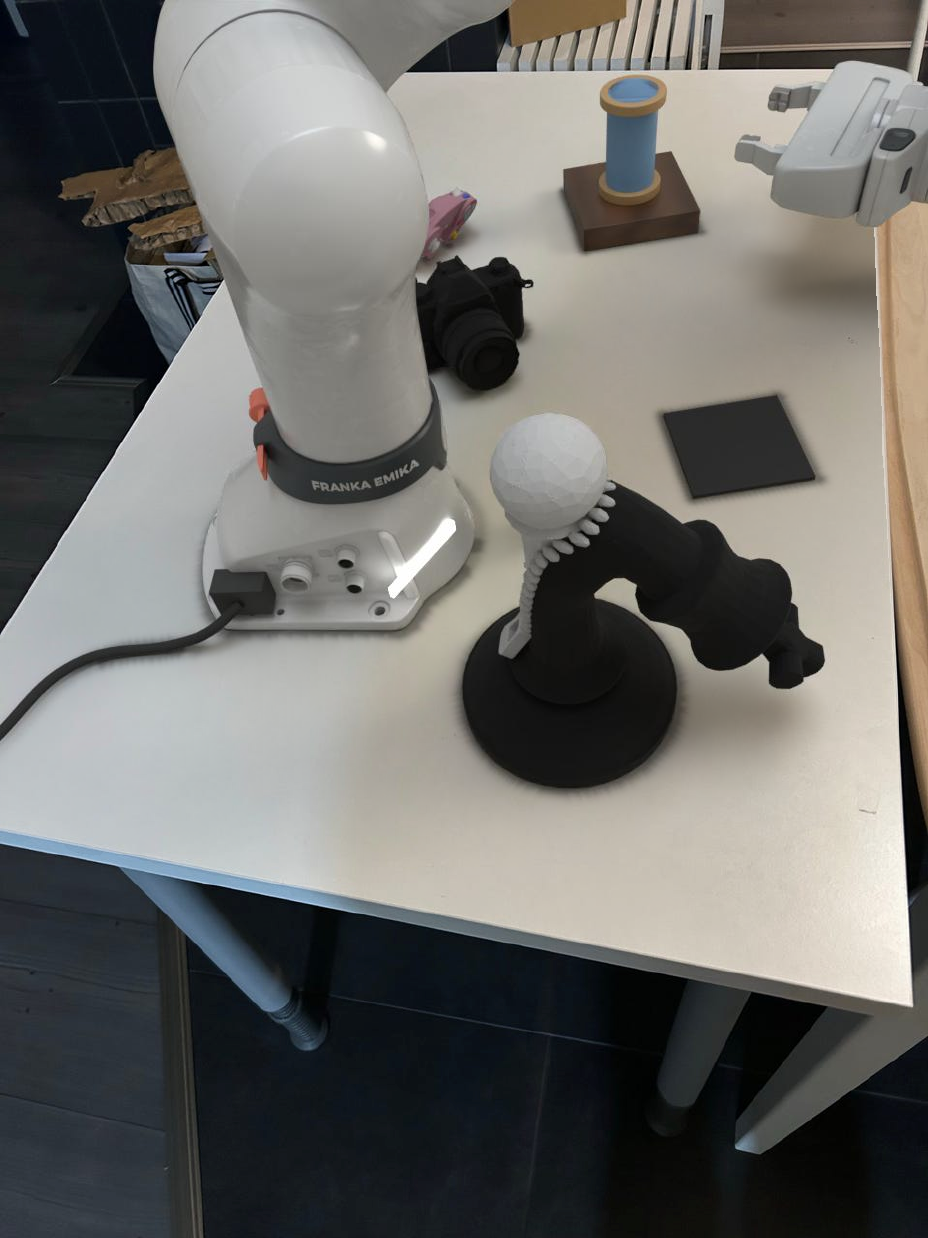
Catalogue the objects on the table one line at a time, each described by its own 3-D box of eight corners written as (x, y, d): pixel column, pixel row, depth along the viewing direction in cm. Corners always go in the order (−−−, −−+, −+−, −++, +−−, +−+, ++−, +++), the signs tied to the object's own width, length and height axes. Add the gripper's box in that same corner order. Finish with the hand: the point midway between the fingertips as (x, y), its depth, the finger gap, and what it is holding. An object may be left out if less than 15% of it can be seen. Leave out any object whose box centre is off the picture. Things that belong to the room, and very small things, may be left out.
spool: (605, 209, 95) (607, 111, 87) (593, 177, 99) (594, 80, 91) (666, 199, 95) (674, 100, 87) (652, 167, 99) (658, 69, 91)
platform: (583, 251, 96) (583, 229, 94) (563, 190, 103) (563, 168, 101) (698, 232, 96) (700, 209, 94) (669, 172, 103) (671, 150, 101)
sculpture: (478, 599, 71) (436, 331, 51) (796, 614, 67) (888, 332, 47) (449, 778, 63) (384, 543, 42) (812, 809, 59) (932, 565, 38)
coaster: (692, 499, 75) (693, 495, 74) (663, 416, 81) (663, 412, 80) (815, 479, 75) (815, 476, 74) (776, 398, 80) (777, 394, 80)
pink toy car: (416, 286, 98) (431, 241, 92) (384, 258, 98) (396, 211, 92) (471, 238, 102) (489, 192, 96) (440, 211, 102) (456, 163, 96)
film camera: (411, 422, 84) (394, 341, 76) (377, 361, 89) (358, 280, 82) (562, 368, 86) (560, 284, 78) (519, 312, 91) (514, 228, 84)
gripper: (947, 50, 83) (794, 34, 88) (888, 168, 74) (721, 142, 79) (926, 121, 88) (783, 101, 93) (869, 239, 79) (713, 211, 84)
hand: (754, 121), depth 86 cm, fingers open, 8 cm apart
